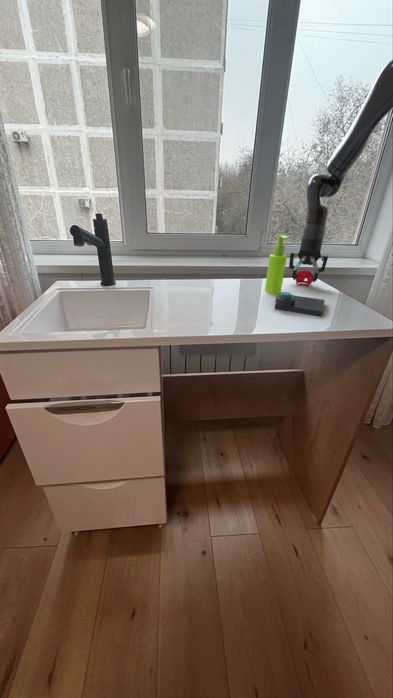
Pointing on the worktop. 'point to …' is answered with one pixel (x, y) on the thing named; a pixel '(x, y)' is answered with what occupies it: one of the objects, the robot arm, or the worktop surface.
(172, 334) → the worktop surface
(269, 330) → the worktop surface
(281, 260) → the soap dispenser
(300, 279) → the cap
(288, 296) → the tare button
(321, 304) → the scale
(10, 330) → the worktop surface
